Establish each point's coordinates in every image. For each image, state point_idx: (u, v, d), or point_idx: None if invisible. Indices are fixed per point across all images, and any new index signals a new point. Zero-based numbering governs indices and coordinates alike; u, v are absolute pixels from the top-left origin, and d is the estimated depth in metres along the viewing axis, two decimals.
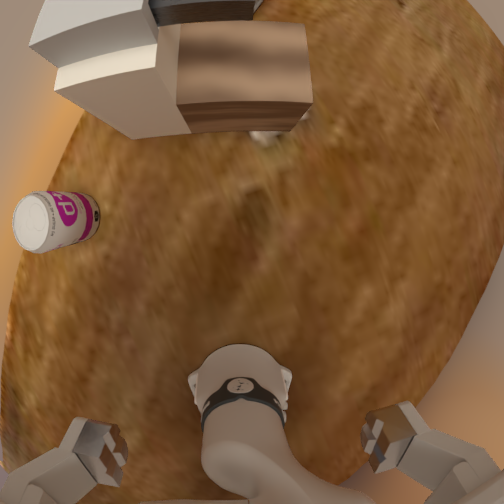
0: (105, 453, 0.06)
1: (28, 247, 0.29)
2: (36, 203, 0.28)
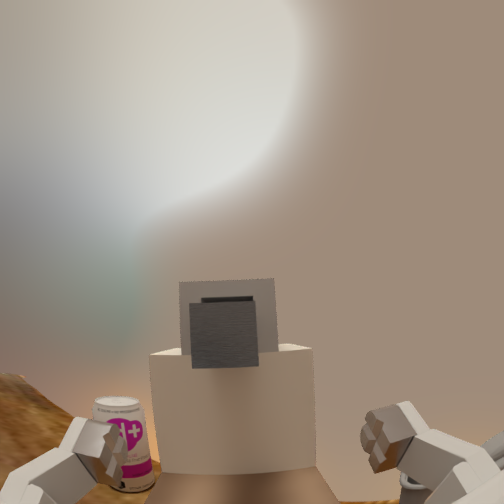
0: (105, 453, 0.06)
1: (101, 398, 0.36)
2: (127, 405, 0.35)
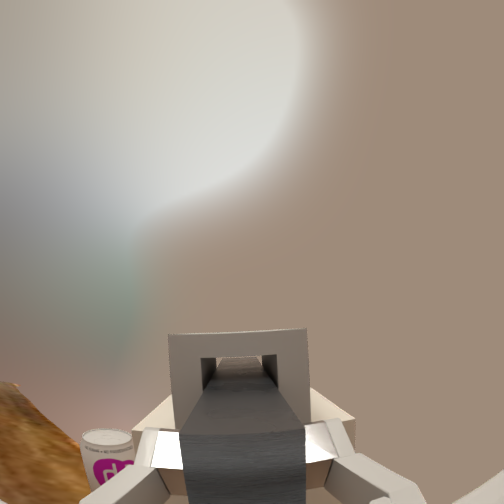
0: None
1: (90, 432, 0.29)
2: (119, 442, 0.27)
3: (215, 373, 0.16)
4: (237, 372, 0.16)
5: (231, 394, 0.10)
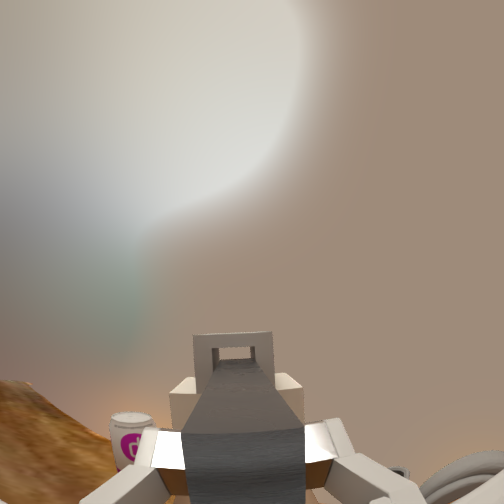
0: None
1: (116, 414, 0.40)
2: (141, 421, 0.38)
3: (214, 374, 0.16)
4: (235, 373, 0.16)
5: (230, 394, 0.10)
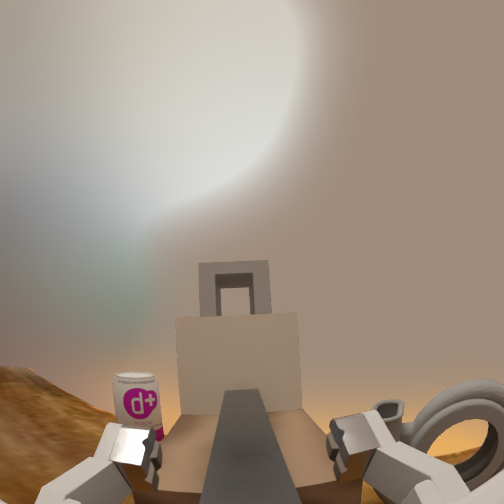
0: (145, 459, 0.06)
1: (120, 373, 0.44)
2: None
3: (219, 420, 0.15)
4: (241, 419, 0.15)
5: (237, 461, 0.09)
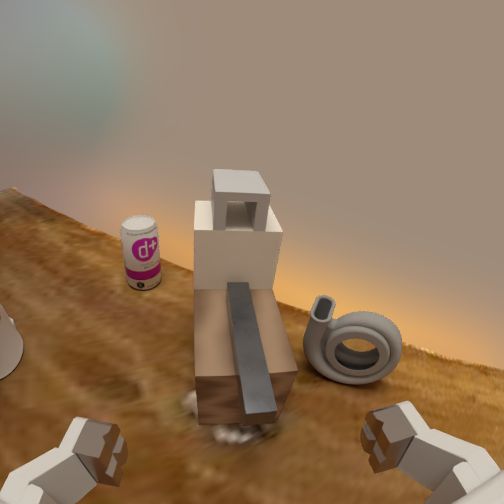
0: (105, 453, 0.06)
1: (125, 221, 0.57)
2: (148, 225, 0.56)
3: (234, 332, 0.33)
4: (245, 331, 0.33)
5: (251, 374, 0.28)
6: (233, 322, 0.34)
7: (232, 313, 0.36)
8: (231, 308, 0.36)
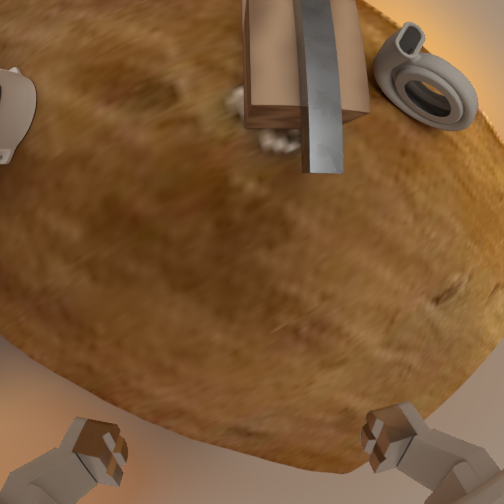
0: (105, 453, 0.06)
1: None
2: None
3: (306, 58, 0.21)
4: (320, 58, 0.21)
5: (322, 120, 0.23)
6: (305, 43, 0.21)
7: (305, 29, 0.20)
8: (303, 22, 0.20)
